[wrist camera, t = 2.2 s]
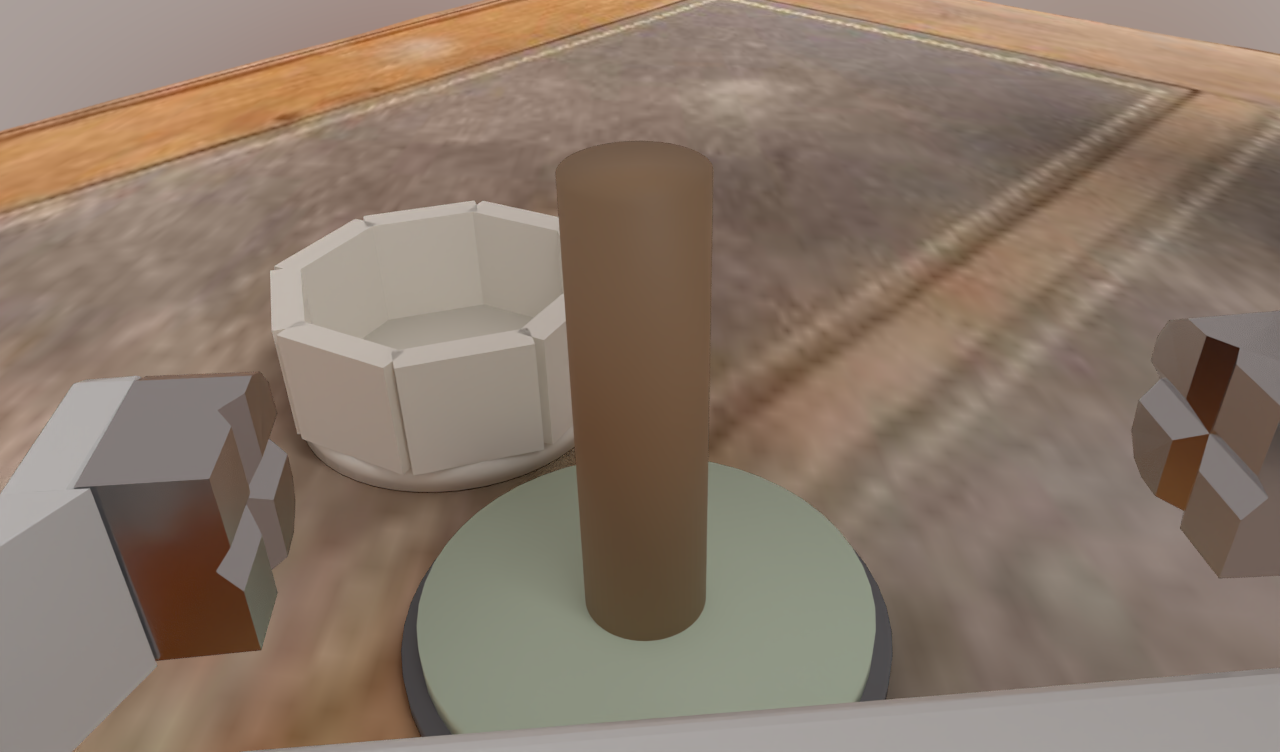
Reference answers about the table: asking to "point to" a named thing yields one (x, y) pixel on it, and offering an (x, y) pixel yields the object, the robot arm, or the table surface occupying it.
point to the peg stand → (641, 507)
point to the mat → (434, 726)
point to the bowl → (428, 346)
